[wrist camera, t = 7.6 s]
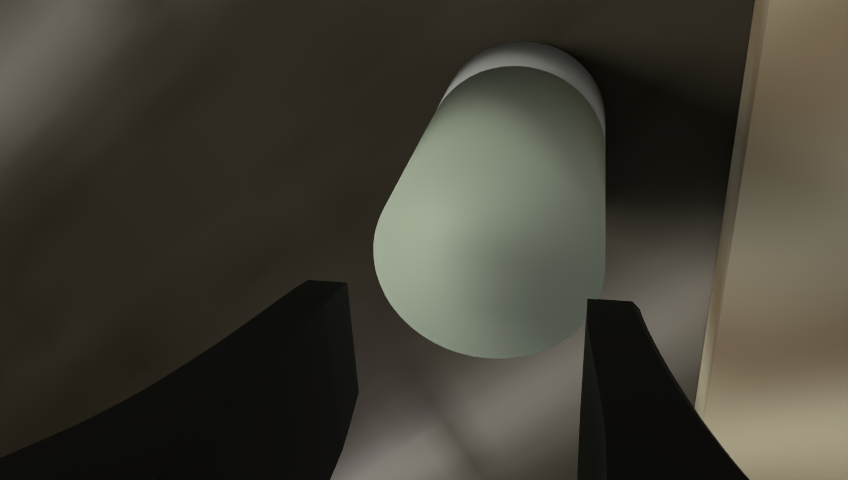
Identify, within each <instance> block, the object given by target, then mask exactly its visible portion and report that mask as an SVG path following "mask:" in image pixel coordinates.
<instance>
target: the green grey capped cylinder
mask: <svg viewBox="0 0 848 480" xmlns="http://www.w3.org/2000/svg"><path fill="white" fill-rule="evenodd" d="M374 263H375V269H376V273H377V276H378V279H379V283H380V285H381V287H382V289H383V291H384V294H385V296H386V297H387V299H388V300H389V302H390V304H391V305H392V307H393V308H394V309H395V310H396V312H397V313H398V314H399V315H400V317H401V318H403V319H404V320H405V321H406V322H407V323H408V324H409V325H410V326H411V327H412V328H413V329H415V330H416V331H417V332H418V333H420V334H421V335H423V336H424V337H426V338H427V339H429V340H431V341H432V342H434V343H436V344H438V345H440V346H442V347H444V348H447V349H450V350H452V351H455V352H458V353H461V354H466V355H470V356H474V357H482V358H496V359H503V358H516V357H521V356H526V355H530V354H534V353H537V352H540V351H543V350H545V349H547V348H550V347H552V346H554V345H556V344H558V343H559V342H561V341H562V340H564V339H566V338H567V337H568V336H570V335H571V334H572V333H573V332H575V331H576V330H577V329H578V328H579V327H580V326H581V325H582V324H583V323H584V321H585V320H586V312H587V299H599V297H600V294H601V291H602V288H603V284H604V278H605V109H604V103H603V99H602V96H601V93H600V91H599V88H598V86H597V84H596V82H595V81H594V79H593V78H592V76H591V75H590V73H589V72H588V71H587V70H586V69H585V68H584V66H583V65H581V64H580V63H579V62H578V61H577V60H576V59H575V58H573V57H572V56H570V55H569V54H567V53H566V52H564V51H562V50H560V49H558V48H555V47H552V46H549V45H547V44H542V43H537V42H528V41H518V42H509V43H503V44H500V45H497V46H494V47H491V48H489V49H487V50H484V51H482V52H481V53H479V54H478V55H476V56H475V57H473V58H472V59H471V60H469V61H468V62H467V63H466V64H465V65H464V66H463V67H462V68H461V69H460V70H459V72H458V73H457V74H456V76H455V77H454V79H453V80H452V82H451V84H450V86H449V88H448V89H447V91H446V93H445V95H444V97H443V99H442V101H441V103H440V104H439V106H438V108H437V110H436V112H435V114H434V116H433V118H432V119H431V121H430V123H429V125H428V127H427V129H426V131H425V133H424V134H423V136H422V138H421V140H420V142H419V144H418V146H417V148H416V149H415V151H414V153H413V155H412V157H411V159H410V161H409V163H408V164H407V166H406V168H405V170H404V172H403V174H402V176H401V177H400V179H399V181H398V183H397V185H396V187H395V189H394V191H393V192H392V194H391V196H390V198H389V200H388V202H387V204H386V206H385V207H384V210H383V212H382V214H381V216H380V218H379V221H378V224H377V228H376V231H375V237H374Z"/></svg>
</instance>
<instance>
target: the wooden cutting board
mask: <svg viewBox="0 0 848 480" xmlns="http://www.w3.org/2000/svg"><path fill="white" fill-rule="evenodd" d="M695 410H696V412H697V413H698V414H699V416H700V417H701V419H702V420H703V421H704V423H705V424H706V426H707V427H708V428H709V430H710V431H711V432H712V434H713V435H714V436H715V438H716V439H717V440H718V442H719V443H720V444H721V446H722V447H723V448H724V449H725V451H726V452H727V453H728V454H729V456H730V457H731V458H732V459H733V461H734V462H735V463H736V464H737V465H738V467H739V468H740V469H741V470H742V471H743V473H744V474H745V475H746V476H747V477H748V478H749V479H750V480H848V0H755V5H754V12H753V19H752V26H751V32H750V39H749V46H748V52H747V59H746V66H745V73H744V79H743V86H742V93H741V100H740V106H739V113H738V120H737V127H736V133H735V140H734V147H733V153H732V160H731V167H730V174H729V180H728V187H727V194H726V201H725V207H724V214H723V221H722V228H721V234H720V241H719V248H718V254H717V261H716V268H715V275H714V281H713V288H712V295H711V302H710V308H709V315H708V322H707V329H706V335H705V342H704V349H703V355H702V362H701V369H700V376H699V382H698V389H697V396H696V403H695Z"/></svg>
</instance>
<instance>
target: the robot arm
mask: <svg viewBox="0 0 848 480" xmlns="http://www.w3.org/2000/svg"><path fill="white" fill-rule="evenodd" d="M358 393H359V391H358V382H357V372H356V363H355V353H354V344H353V334H352V325H351V315H350V306H349V296H348V287H347V283H345V282H330V281H314V280H307V281H306V282H304V283H303V284H301V285H299V286H298V287H296V288H295V289H293V290H292V291H290V292H289V293H287V294H286V295H285V296H283V297H282V298H280V299H279V300H278V301H276V302H275V303H273V304H272V305H271V306H269V307H268V308H267V309H265V310H264V311H262V312H261V313H260V314H258V315H257V316H255V317H254V318H253V319H251V320H250V321H248V322H247V323H246V324H244V325H243V326H241V327H240V328H238V329H237V330H236V331H234V332H233V333H231V334H230V335H228V336H227V337H226V338H224V339H223V340H221V341H220V342H219V343H217V344H216V345H214V346H213V347H211V348H210V349H208V350H207V351H205V352H203V353H202V354H200V355H199V356H197V357H196V358H194V359H192V360H191V361H189V362H188V363H186V364H185V365H183V366H181V367H180V368H178V369H177V370H175V371H174V372H172V373H170V374H169V375H167V376H166V377H164V378H163V379H161V380H159V381H158V382H156V383H154V384H153V385H151V386H149V387H148V388H146V389H144V390H142V391H141V392H139V393H137V394H135V395H133V396H132V397H130V398H128V399H126V400H124V401H123V402H121V403H119V404H117V405H115V406H113V407H111V408H109V409H107V410H105V411H103V412H101V413H99V414H98V415H96V416H94V417H92V418H90V419H88V420H86V421H84V422H81V423H79V424H77V425H75V426H73V427H71V428H68V429H66V430H64V431H61V432H59V433H57V434H55V435H52V436H50V437H48V438H46V439H43V440H41V441H39V442H36V443H34V444H32V445H30V446H27V447H25V448H23V449H21V450H18V451H16V452H14V453H11V454H9V455H6V456H4V457H1V458H0V480H330V478H331V476H332V473H333V471H334V469H335V467H336V464H337V462H338V459H339V457H340V455H341V452H342V449H343V446H344V443H345V439H346V436H347V433H348V429H349V426H350V422H351V419H352V415H353V411H354V408H355V404H356V400H357V396H358ZM577 477H578V480H750V479H749V478H748V477H747V476H746V475H745V474H744V473H743V471H742V470H741V469H740V468H739V467H738V465H737V464H736V463H735V462H734V461H733V459H732V458H731V457H730V456H729V454H728V453H727V452H726V451H725V449H724V448H723V447H722V446H721V444H720V443H719V442H718V440H717V439H716V438H715V436H714V435H713V434H712V432H711V431H710V430H709V428H708V427H707V426H706V424H705V423H704V421H703V420H702V419H701V417H700V416H699V414H698V413H697V412H696V410H695V409H694V407H693V406H692V404H691V403H690V401H689V400H688V398H687V397H686V395H685V393H684V392H683V390H682V389H681V387H680V386H679V384H678V382H677V381H676V379H675V378H674V376H673V375H672V373H671V371H670V370H669V368H668V366H667V365H666V363H665V361H664V359H663V358H662V356H661V354H660V352H659V350H658V348H657V346H656V345H655V343H654V341H653V339H652V337H651V335H650V333H649V331H648V329H647V326H646V324H645V322H644V320H643V317H642V315H641V312H640V309H639V308H638V307H637V306H636V305H635V304H634V303H633V302H632V301H616V300H601V299H587V312H586V328H585V344H584V361H583V377H582V393H581V409H580V430H579V452H578V474H577Z"/></svg>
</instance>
